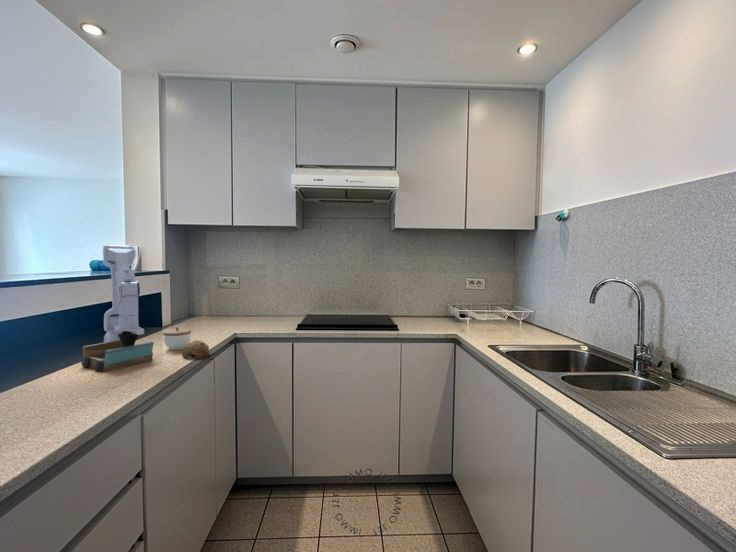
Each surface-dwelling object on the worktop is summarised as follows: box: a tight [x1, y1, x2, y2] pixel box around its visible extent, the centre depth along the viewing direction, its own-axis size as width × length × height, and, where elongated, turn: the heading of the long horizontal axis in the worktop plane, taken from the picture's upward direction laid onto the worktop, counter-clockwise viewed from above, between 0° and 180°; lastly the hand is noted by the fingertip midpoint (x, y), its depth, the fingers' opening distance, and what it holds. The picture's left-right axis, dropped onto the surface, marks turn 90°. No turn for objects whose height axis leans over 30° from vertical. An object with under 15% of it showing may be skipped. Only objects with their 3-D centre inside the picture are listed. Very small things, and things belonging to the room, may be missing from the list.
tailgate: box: [104, 340, 154, 365], centre depth 123 cm, size 1×16×5 cm, turn 155°
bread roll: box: [181, 340, 210, 360], centre depth 137 cm, size 10×10×8 cm
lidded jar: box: [162, 326, 192, 351], centre depth 148 cm, size 11×11×9 cm
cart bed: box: [80, 340, 154, 373], centre depth 126 cm, size 14×18×7 cm
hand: (129, 352), depth 123 cm, fingers closed, pressing on tailgate
